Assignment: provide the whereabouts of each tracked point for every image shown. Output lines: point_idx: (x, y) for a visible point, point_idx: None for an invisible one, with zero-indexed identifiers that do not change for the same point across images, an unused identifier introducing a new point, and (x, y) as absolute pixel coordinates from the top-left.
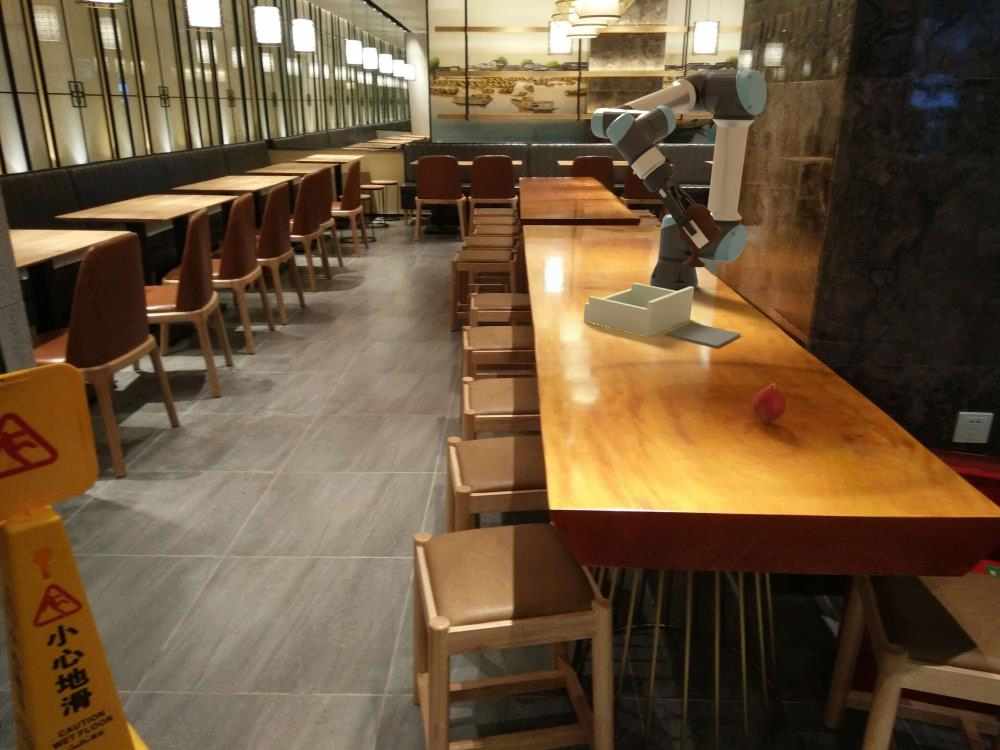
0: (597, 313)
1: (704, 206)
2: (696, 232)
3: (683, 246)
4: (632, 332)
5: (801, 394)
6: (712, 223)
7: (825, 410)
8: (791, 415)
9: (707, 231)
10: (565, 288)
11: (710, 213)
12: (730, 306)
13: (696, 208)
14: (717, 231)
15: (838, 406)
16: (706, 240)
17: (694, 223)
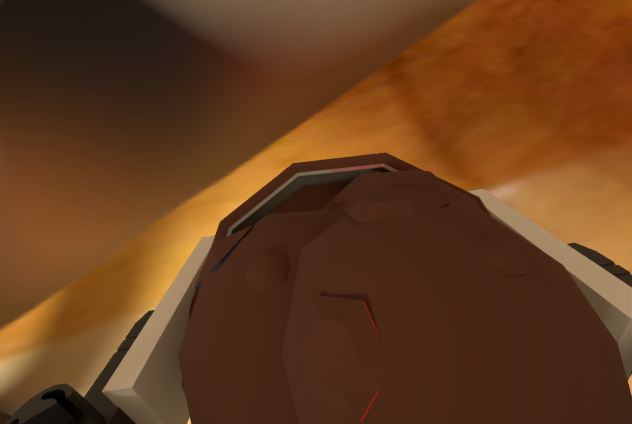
0: None
1: (448, 253)
2: (573, 244)
3: None
4: None
5: (505, 58)
6: (418, 172)
7: (536, 24)
8: (593, 43)
9: (473, 195)
10: None
11: (382, 190)
12: (107, 290)
13: (616, 350)
14: (392, 159)
15: (508, 19)
16: (489, 196)
17: (603, 279)
